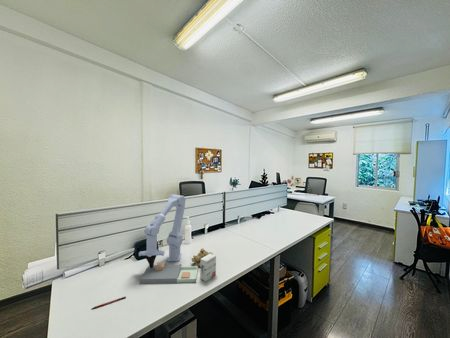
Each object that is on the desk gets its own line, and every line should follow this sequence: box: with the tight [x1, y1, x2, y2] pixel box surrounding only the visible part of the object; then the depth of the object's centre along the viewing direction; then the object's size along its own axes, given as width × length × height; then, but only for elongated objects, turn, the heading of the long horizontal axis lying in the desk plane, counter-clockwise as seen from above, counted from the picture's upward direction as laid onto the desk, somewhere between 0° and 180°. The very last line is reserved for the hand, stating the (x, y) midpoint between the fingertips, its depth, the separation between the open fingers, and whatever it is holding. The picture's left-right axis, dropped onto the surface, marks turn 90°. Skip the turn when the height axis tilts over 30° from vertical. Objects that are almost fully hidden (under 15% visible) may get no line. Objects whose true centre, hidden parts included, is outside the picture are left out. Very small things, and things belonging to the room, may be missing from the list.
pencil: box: [91, 296, 127, 310], centre depth 83 cm, size 1×14×1 cm, turn 121°
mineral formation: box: [190, 247, 214, 267], centre depth 116 cm, size 8×13×15 cm
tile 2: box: [181, 272, 190, 279], centre depth 101 cm, size 4×4×2 cm
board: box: [139, 264, 182, 285], centre depth 104 cm, size 13×20×2 cm, turn 93°
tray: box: [176, 265, 199, 284], centre depth 104 cm, size 12×10×2 cm
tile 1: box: [155, 262, 166, 270], centre depth 107 cm, size 4×4×2 cm
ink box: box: [199, 252, 217, 282], centre depth 103 cm, size 9×5×12 cm, turn 141°
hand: (151, 266), depth 107 cm, fingers closed
